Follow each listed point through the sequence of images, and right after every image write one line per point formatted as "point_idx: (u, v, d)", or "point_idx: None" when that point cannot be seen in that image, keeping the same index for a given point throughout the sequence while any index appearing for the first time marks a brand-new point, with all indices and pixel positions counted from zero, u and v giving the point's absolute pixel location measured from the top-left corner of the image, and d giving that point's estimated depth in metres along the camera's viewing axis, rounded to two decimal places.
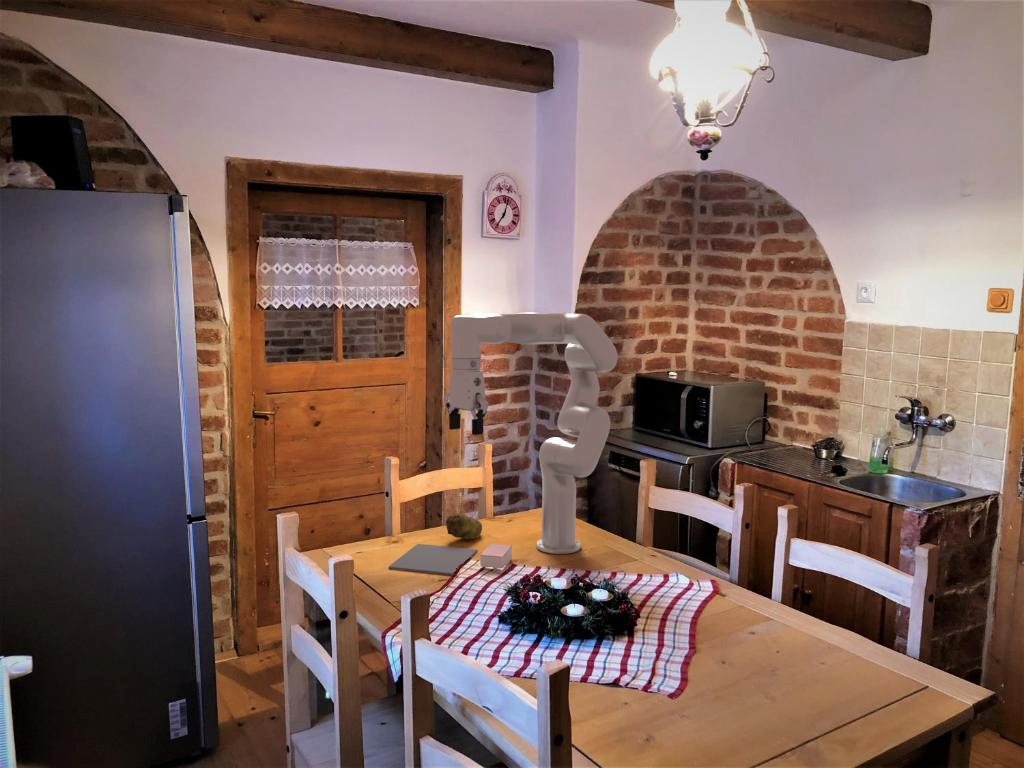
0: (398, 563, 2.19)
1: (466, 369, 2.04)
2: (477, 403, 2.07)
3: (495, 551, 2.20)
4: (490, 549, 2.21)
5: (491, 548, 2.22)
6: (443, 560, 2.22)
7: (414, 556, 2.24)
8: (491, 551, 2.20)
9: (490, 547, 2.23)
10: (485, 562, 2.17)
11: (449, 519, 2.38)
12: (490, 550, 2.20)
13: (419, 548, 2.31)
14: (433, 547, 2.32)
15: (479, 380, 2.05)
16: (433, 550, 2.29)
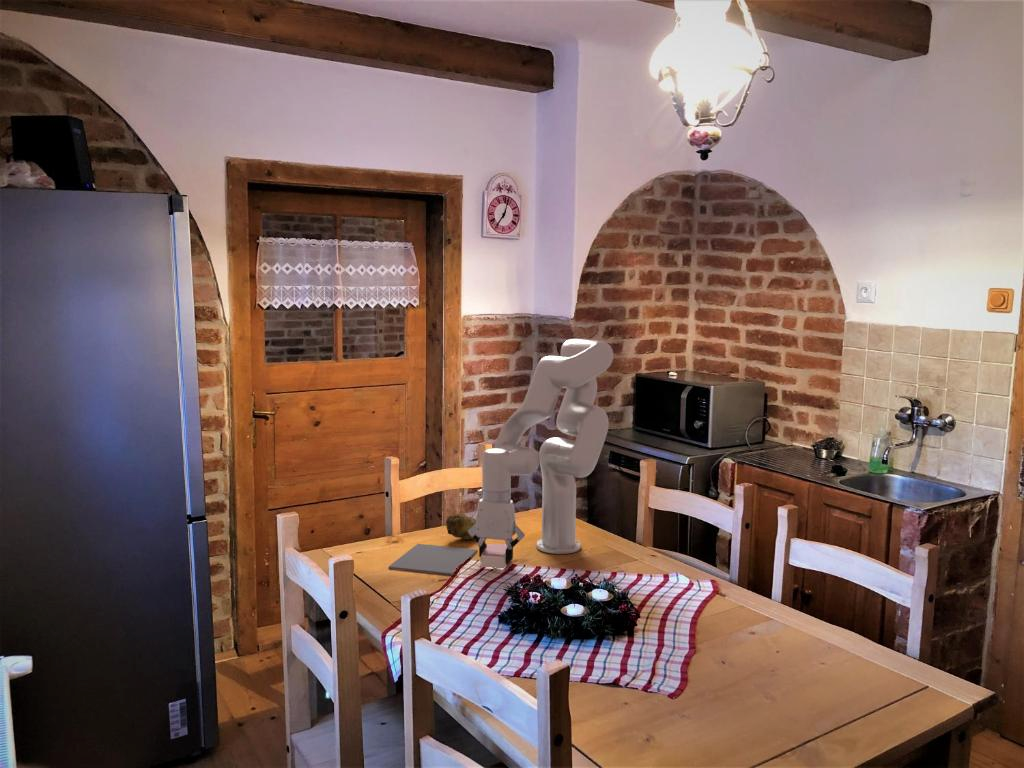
0: (398, 563, 2.19)
1: None
2: None
3: (495, 550, 2.19)
4: (489, 549, 2.21)
5: (490, 547, 2.22)
6: (443, 560, 2.22)
7: (414, 556, 2.24)
8: (491, 550, 2.19)
9: (489, 546, 2.23)
10: (486, 561, 2.16)
11: (449, 519, 2.38)
12: (490, 549, 2.20)
13: (419, 548, 2.31)
14: (433, 547, 2.32)
15: None
16: (433, 550, 2.29)
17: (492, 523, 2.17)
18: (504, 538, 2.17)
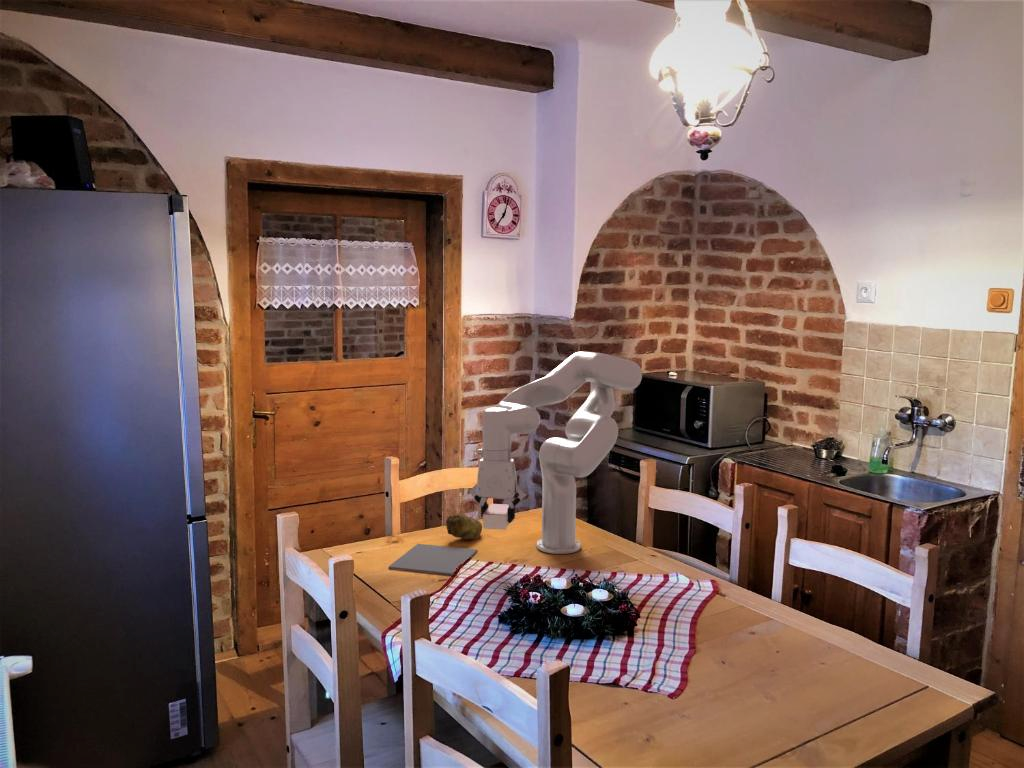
0: (398, 563, 2.19)
1: None
2: None
3: (497, 510, 2.18)
4: (491, 508, 2.20)
5: (492, 507, 2.21)
6: (443, 560, 2.22)
7: (414, 556, 2.24)
8: (493, 510, 2.18)
9: (491, 506, 2.22)
10: (488, 520, 2.15)
11: (449, 519, 2.38)
12: (491, 509, 2.19)
13: (419, 548, 2.31)
14: (433, 547, 2.32)
15: None
16: (433, 550, 2.29)
17: (493, 482, 2.16)
18: (506, 497, 2.15)
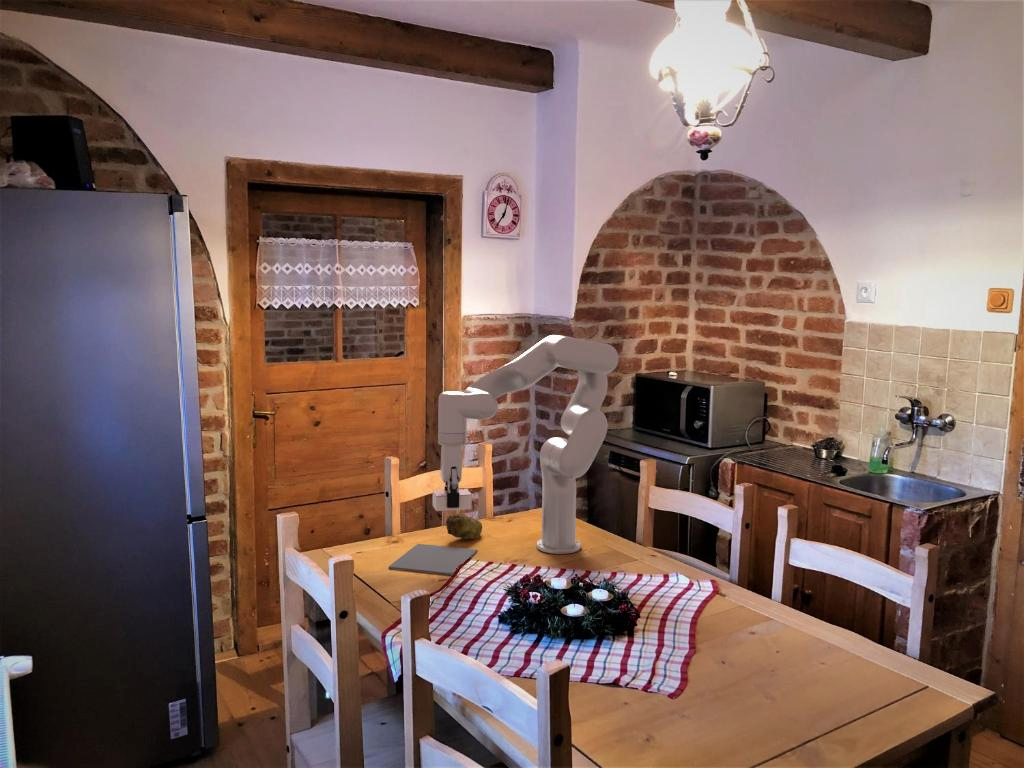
0: (398, 563, 2.19)
1: None
2: None
3: None
4: None
5: None
6: (443, 560, 2.22)
7: (414, 556, 2.24)
8: (446, 491, 2.21)
9: None
10: (433, 498, 2.21)
11: (449, 519, 2.38)
12: None
13: (419, 548, 2.31)
14: (433, 547, 2.32)
15: None
16: (433, 550, 2.29)
17: (441, 463, 2.19)
18: (442, 480, 2.17)
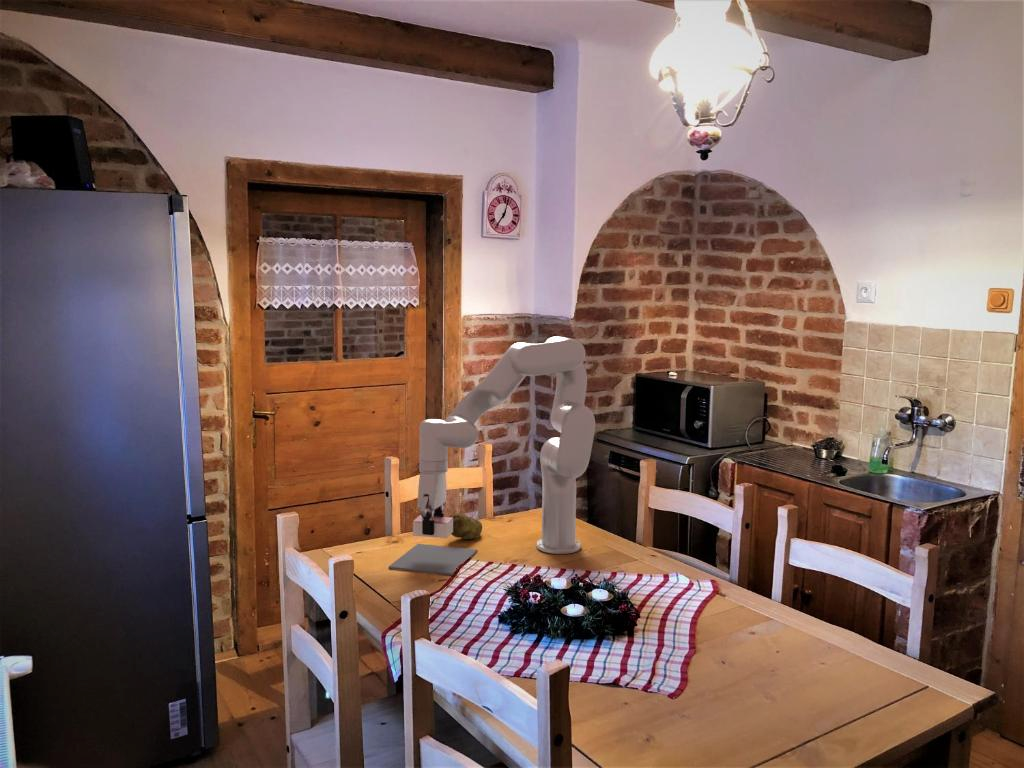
0: (398, 563, 2.19)
1: None
2: None
3: None
4: (434, 517, 2.24)
5: (438, 517, 2.24)
6: (443, 560, 2.22)
7: (414, 556, 2.24)
8: None
9: (442, 517, 2.24)
10: None
11: None
12: None
13: (419, 548, 2.31)
14: (433, 547, 2.32)
15: None
16: (433, 550, 2.29)
17: None
18: None
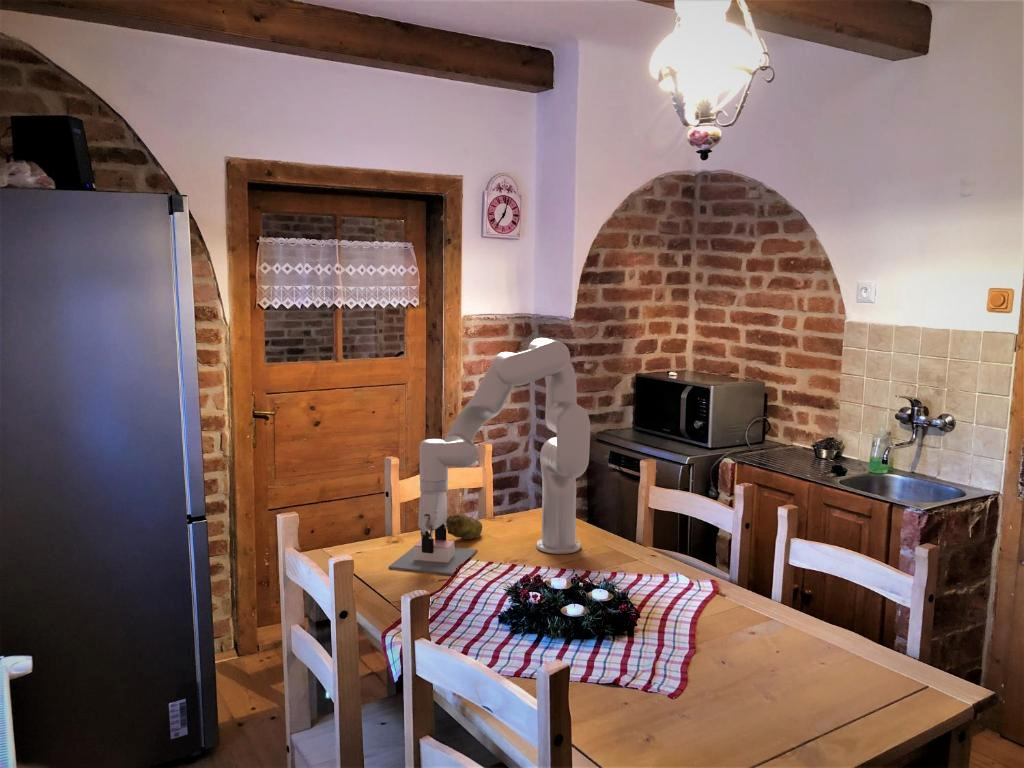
0: (398, 563, 2.19)
1: None
2: None
3: None
4: (436, 541, 2.25)
5: (440, 541, 2.25)
6: None
7: None
8: None
9: (444, 541, 2.25)
10: None
11: (449, 519, 2.38)
12: None
13: None
14: None
15: None
16: None
17: None
18: None
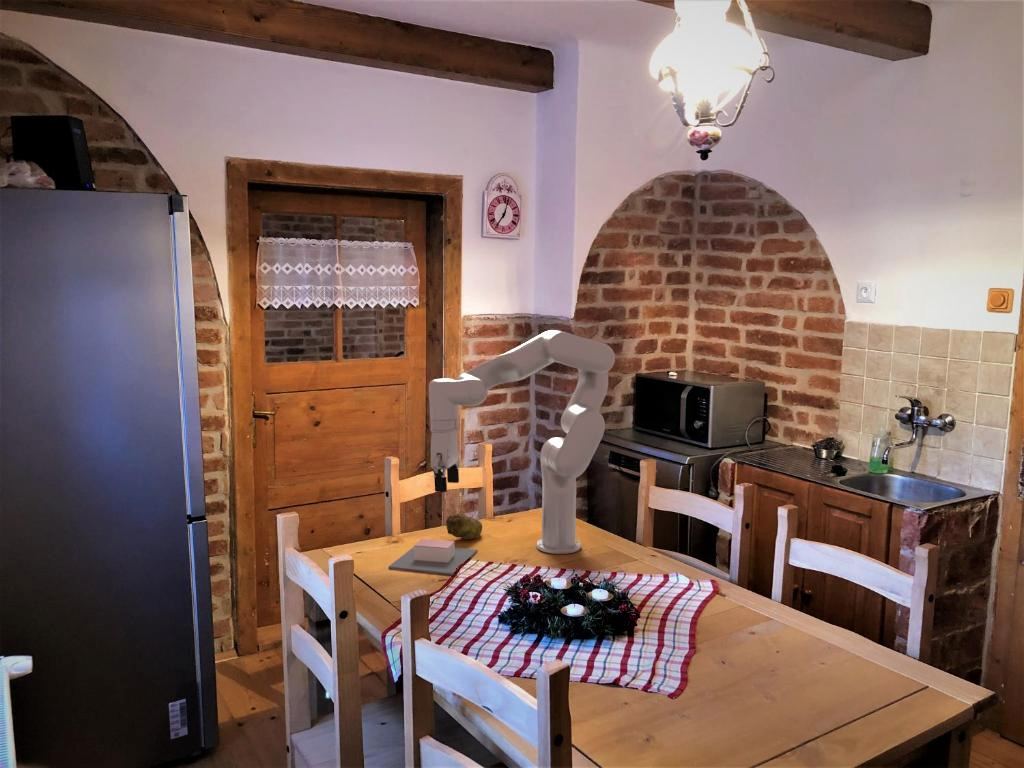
0: (398, 563, 2.19)
1: None
2: None
3: (430, 543, 2.23)
4: (436, 541, 2.25)
5: (440, 541, 2.25)
6: None
7: None
8: (430, 541, 2.25)
9: (444, 541, 2.25)
10: None
11: (449, 519, 2.38)
12: (433, 541, 2.25)
13: None
14: None
15: None
16: None
17: None
18: None
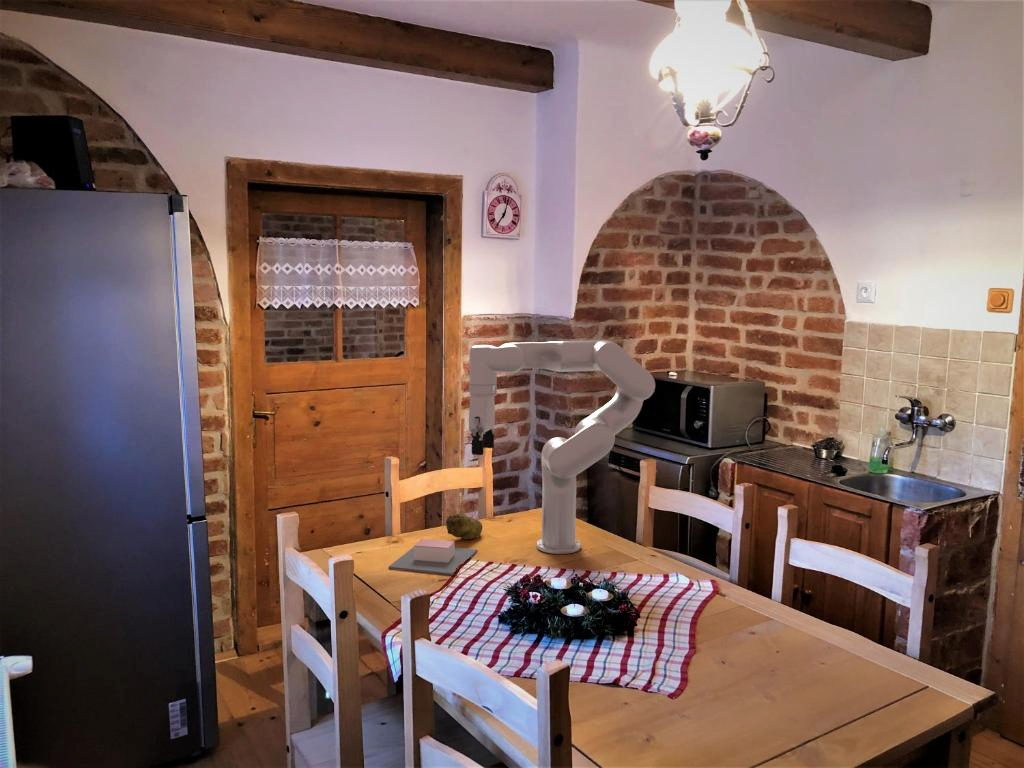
0: (398, 563, 2.19)
1: None
2: None
3: (430, 543, 2.23)
4: (436, 541, 2.25)
5: (440, 541, 2.25)
6: None
7: None
8: (430, 541, 2.25)
9: (444, 541, 2.25)
10: None
11: (449, 519, 2.38)
12: (433, 541, 2.25)
13: None
14: None
15: None
16: None
17: None
18: None
